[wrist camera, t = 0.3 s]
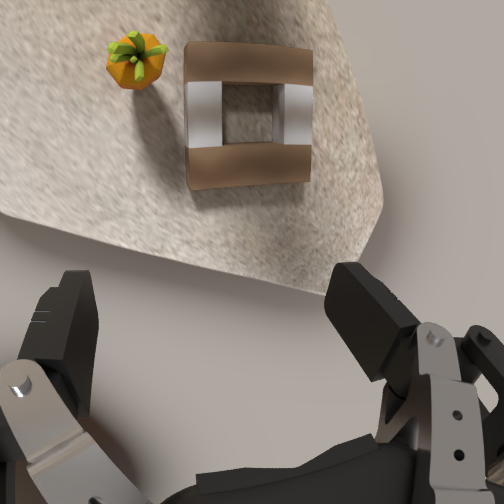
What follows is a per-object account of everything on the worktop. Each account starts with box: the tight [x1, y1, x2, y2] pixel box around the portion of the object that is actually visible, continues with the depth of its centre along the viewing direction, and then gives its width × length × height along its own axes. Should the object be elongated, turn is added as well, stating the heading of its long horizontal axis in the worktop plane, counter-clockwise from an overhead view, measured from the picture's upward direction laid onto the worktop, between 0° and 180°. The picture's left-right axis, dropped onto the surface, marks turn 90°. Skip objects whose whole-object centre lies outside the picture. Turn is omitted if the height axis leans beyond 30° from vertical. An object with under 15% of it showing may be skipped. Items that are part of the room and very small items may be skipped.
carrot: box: [106, 31, 169, 90], centre depth 22 cm, size 5×5×15 cm
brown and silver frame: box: [184, 42, 313, 190], centre depth 32 cm, size 16×14×4 cm
